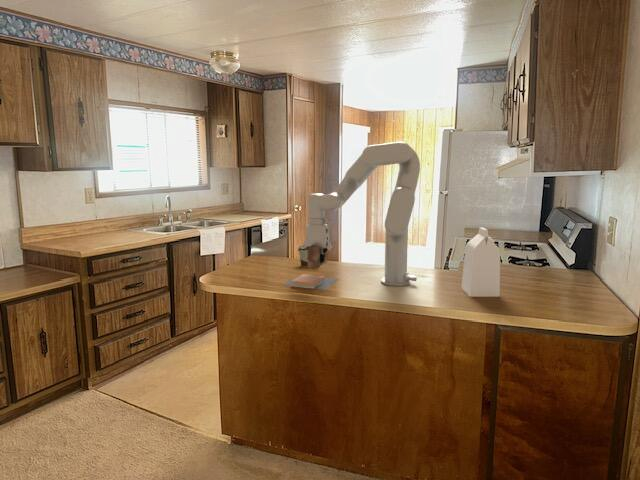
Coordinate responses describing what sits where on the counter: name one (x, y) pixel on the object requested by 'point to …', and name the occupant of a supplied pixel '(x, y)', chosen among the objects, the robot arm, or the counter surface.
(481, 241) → the milk
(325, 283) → the mat
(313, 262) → the pusher block
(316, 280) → the tile
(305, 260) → the food container
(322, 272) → the counter surface
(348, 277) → the counter surface
